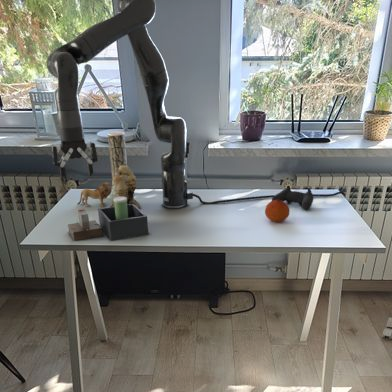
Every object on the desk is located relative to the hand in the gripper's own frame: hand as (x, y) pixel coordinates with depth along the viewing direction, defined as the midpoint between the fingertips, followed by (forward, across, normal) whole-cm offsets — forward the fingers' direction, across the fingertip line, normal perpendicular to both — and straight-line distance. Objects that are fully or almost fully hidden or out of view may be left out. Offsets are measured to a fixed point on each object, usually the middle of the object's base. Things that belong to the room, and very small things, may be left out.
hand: (77, 176), depth 168 cm
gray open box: (+20, +14, -2) cm, 24 cm away
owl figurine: (+20, +21, +21) cm, 36 cm away
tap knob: (+17, 0, 0) cm, 17 cm away
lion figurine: (+20, +12, +31) cm, 39 cm away
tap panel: (+20, 0, 0) cm, 20 cm away
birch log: (+20, +26, +42) cm, 53 cm away
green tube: (+20, +13, -2) cm, 24 cm away
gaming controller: (+20, +85, -4) cm, 87 cm away
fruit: (+20, +69, -17) cm, 74 cm away
